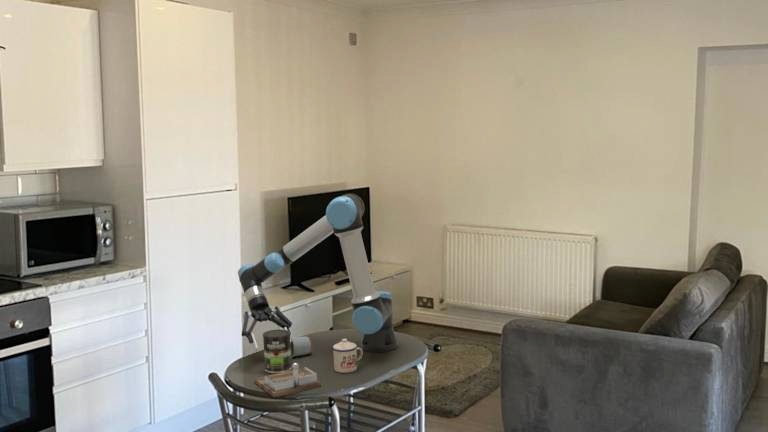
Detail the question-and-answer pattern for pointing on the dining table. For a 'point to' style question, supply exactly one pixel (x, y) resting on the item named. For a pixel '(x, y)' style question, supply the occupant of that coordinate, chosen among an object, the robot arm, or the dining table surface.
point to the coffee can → (277, 351)
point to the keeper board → (285, 376)
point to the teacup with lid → (346, 356)
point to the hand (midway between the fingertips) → (273, 346)
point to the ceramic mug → (300, 346)
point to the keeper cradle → (292, 380)
